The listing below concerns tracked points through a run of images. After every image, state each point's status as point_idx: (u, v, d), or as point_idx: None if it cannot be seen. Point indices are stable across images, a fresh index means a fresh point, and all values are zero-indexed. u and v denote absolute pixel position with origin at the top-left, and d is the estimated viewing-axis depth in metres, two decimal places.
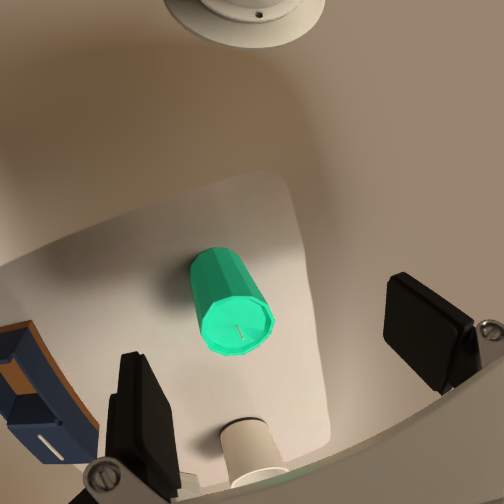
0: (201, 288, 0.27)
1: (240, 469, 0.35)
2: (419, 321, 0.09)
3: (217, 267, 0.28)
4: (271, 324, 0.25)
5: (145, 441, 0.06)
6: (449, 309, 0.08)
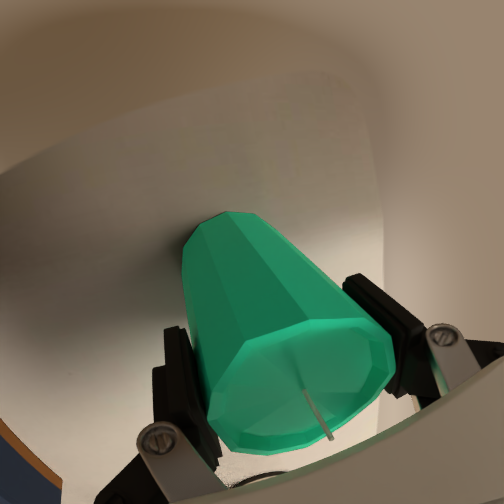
0: (205, 295, 0.11)
1: None
2: None
3: (243, 244, 0.12)
4: (385, 380, 0.09)
5: (198, 403, 0.07)
6: (398, 311, 0.09)
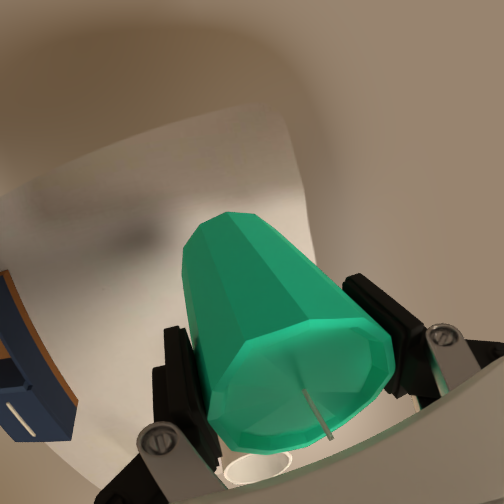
0: (206, 295, 0.11)
1: (234, 452, 0.31)
2: None
3: (243, 244, 0.12)
4: (385, 380, 0.09)
5: (198, 404, 0.07)
6: (398, 311, 0.09)
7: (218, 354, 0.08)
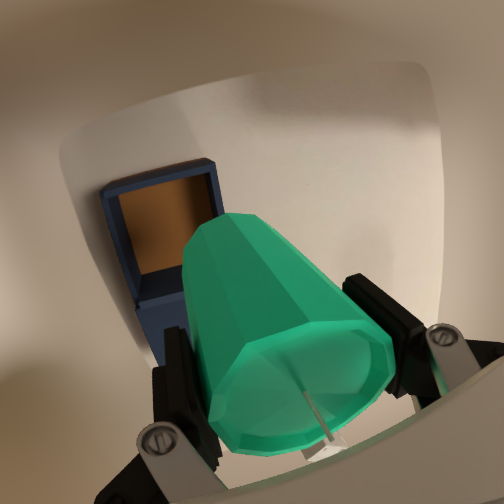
0: (206, 296, 0.11)
1: None
2: None
3: (243, 246, 0.12)
4: (386, 381, 0.09)
5: (198, 403, 0.07)
6: (398, 311, 0.09)
7: (219, 356, 0.08)
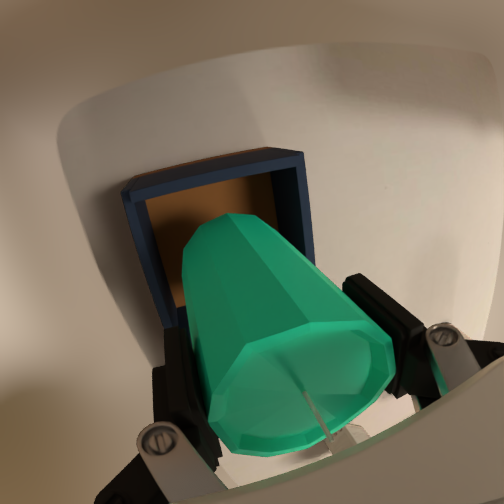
0: (206, 297, 0.11)
1: None
2: None
3: (243, 246, 0.12)
4: (386, 382, 0.09)
5: (198, 404, 0.07)
6: (398, 311, 0.09)
7: (218, 357, 0.08)
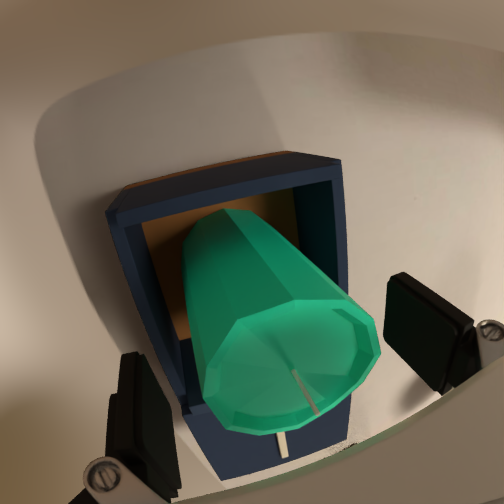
0: (203, 283, 0.12)
1: None
2: (419, 321, 0.09)
3: (238, 237, 0.13)
4: (371, 363, 0.10)
5: (145, 441, 0.06)
6: (449, 309, 0.08)
7: (213, 333, 0.09)
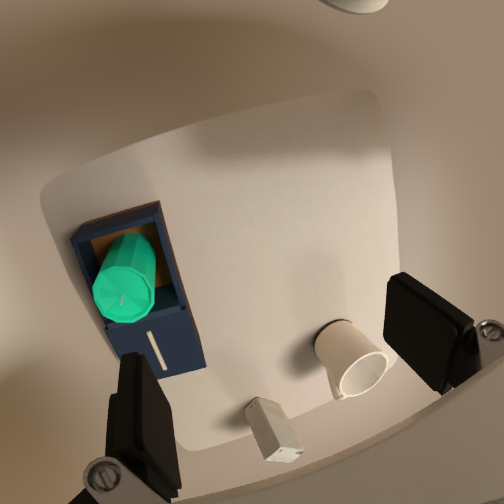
0: (102, 264, 0.29)
1: (350, 358, 0.41)
2: (419, 321, 0.09)
3: (118, 246, 0.30)
4: (151, 294, 0.27)
5: (145, 441, 0.06)
6: (449, 309, 0.08)
7: (96, 278, 0.26)
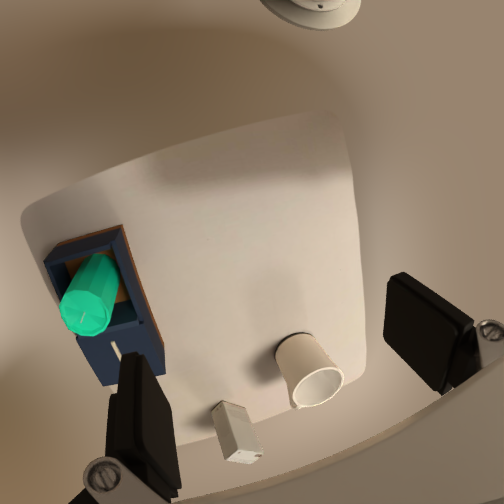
0: None
1: (303, 371, 0.44)
2: (419, 321, 0.09)
3: (83, 269, 0.33)
4: (106, 313, 0.30)
5: (145, 441, 0.06)
6: (449, 309, 0.08)
7: None
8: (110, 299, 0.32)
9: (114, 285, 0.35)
